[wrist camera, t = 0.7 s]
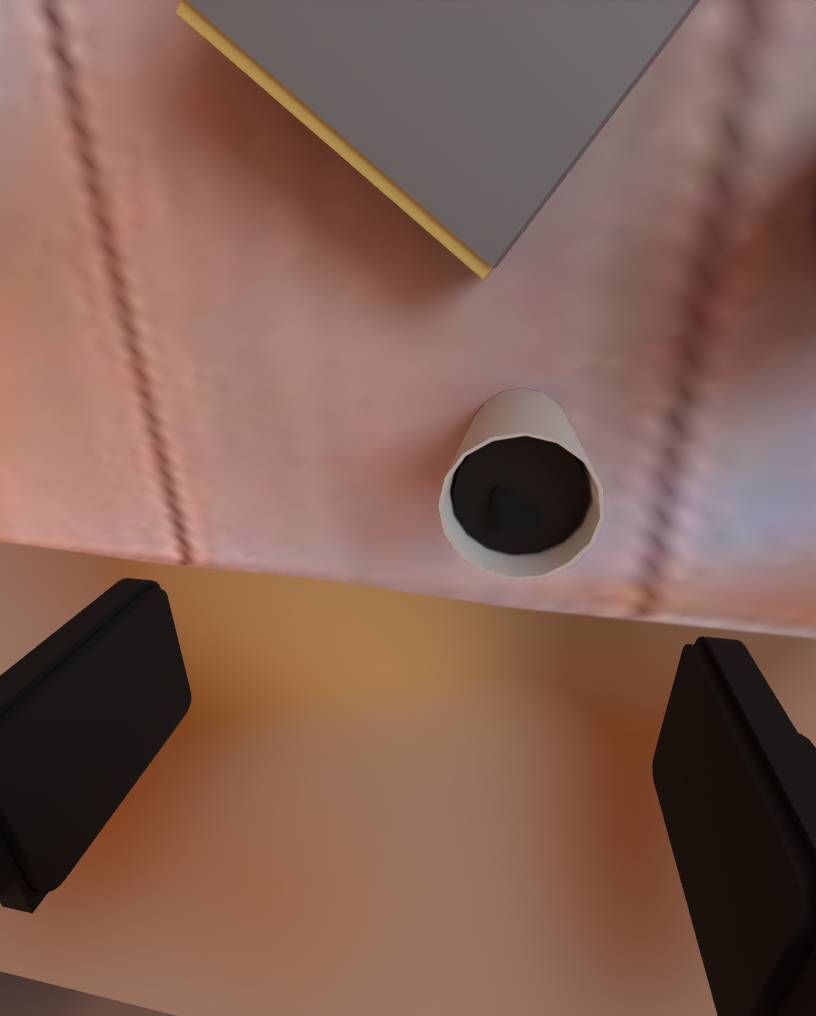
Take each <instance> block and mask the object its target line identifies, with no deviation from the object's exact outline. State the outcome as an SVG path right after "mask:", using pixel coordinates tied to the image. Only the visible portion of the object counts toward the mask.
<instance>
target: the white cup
mask: <svg viewBox="0 0 816 1016" xmlns="http://www.w3.org/2000/svg"><path fill="white" fill-rule="evenodd" d="M438 507H439V513H440V518H441V523H442V528H443V533H444V534H445V536H446V537H447V539H448V540H449V542H450V543H451V544H452V546H453V547H454V549H455V550H456V552H457V553H458V555H459V556H460V557H462V558H463V559H464V560H466V561H467V562H469V563H470V564H472V565H473V566H475V567H476V568H478V569H479V570H480V571H482V572H483V573H487V574H491V575H495V576H498V577H502V578H506V579H510V580H525V579H540V578H545V577H547V576H550V575H552V574H554V573H557V572H559V571H561V570H564V569H566V568H568V567H571V566H572V565H573V564H574V563H575V562H576V561H577V560H578V559H579V558H580V557H581V556H583V555H584V554H585V553H586V552H587V551H588V550H589V549H590V548H591V547H592V546H593V544H594V542H595V539H596V537H597V535H598V532H599V530H600V527H601V525H602V522H603V520H604V502H603V487H602V485H601V483H600V481H599V479H598V478H597V476H596V474H595V472H594V470H593V468H592V466H591V464H590V462H589V460H588V458H587V456H586V454H585V452H584V450H583V448H582V446H581V444H580V442H579V440H578V438H577V436H576V434H575V432H574V430H573V428H572V426H571V424H570V422H569V420H568V418H567V417H566V415H565V413H564V411H563V410H562V408H561V406H560V405H559V404H558V403H557V402H555V401H554V400H553V399H551V398H550V397H549V396H547V395H546V394H544V393H542V392H538V391H533V390H529V389H525V388H522V389H516V390H510V391H503V392H501V393H500V394H498V395H496V396H495V397H493V398H491V399H490V400H488V401H486V402H485V404H484V405H483V406H482V407H481V409H480V410H479V411H478V413H477V414H476V415H475V417H474V419H473V421H472V423H471V425H470V427H469V429H468V431H467V433H466V435H465V437H464V439H463V441H462V443H461V445H460V447H459V449H458V451H457V453H456V455H455V458H454V460H453V462H452V464H451V466H450V468H449V470H448V472H447V474H446V476H445V478H444V483H443V487H442V491H441V495H440V499H439V504H438Z"/></svg>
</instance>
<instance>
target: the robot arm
mask: <svg viewBox="0 0 816 1016" xmlns="http://www.w3.org/2000/svg"><path fill="white" fill-rule="evenodd" d="M190 703H191V691H190V687H189V682H188V678H187V674H186V670H185V666H184V662H183V658H182V654H181V650H180V645H179V642H178V638H177V633H176V629H175V625H174V621H173V617H172V613H171V609H170V604H169V600H168V596H167V594H166V592H165V591H164V590H162V589H161V588H160V586H159V584H158V583H157V582H155V581H152V580H142V579H132V578H125V579H122V580H120V581H118V582H117V583H116V584H114V585H113V586H112V587H111V588H109V589H108V590H107V591H106V592H104V594H102V595H101V596H99V597H98V598H97V599H96V600H94V601H93V602H92V603H91V604H89V605H88V606H87V607H86V608H84V609H83V610H82V611H81V612H79V613H78V614H77V615H76V616H75V617H73V618H72V619H71V620H69V621H68V622H67V623H66V624H64V625H63V626H62V627H61V628H59V629H58V630H57V631H56V632H55V633H53V634H52V635H51V636H49V637H48V638H47V639H46V640H44V641H43V642H42V643H41V644H39V645H38V646H37V647H36V648H35V649H33V650H32V651H31V652H29V653H28V654H27V655H26V656H24V657H23V658H22V659H21V660H19V661H18V662H17V663H16V664H14V665H13V666H12V667H11V668H9V669H8V670H7V671H6V672H4V673H3V674H2V675H1V676H0V903H1V905H2V906H3V907H7V908H11V909H16V910H21V911H25V912H29V913H33V912H34V911H35V909H36V908H37V907H38V905H39V904H40V902H41V901H42V900H43V899H44V897H45V896H46V894H47V893H48V892H50V891H53V890H55V889H56V888H57V887H58V886H60V885H61V884H62V882H63V881H64V880H65V879H66V877H67V876H68V874H69V873H70V872H71V871H72V869H73V868H74V867H75V865H76V864H77V862H78V861H79V860H80V858H81V857H82V856H83V854H84V853H85V851H86V850H87V849H88V847H89V846H90V845H91V843H92V842H93V841H94V839H95V838H96V836H97V835H98V834H99V832H100V831H101V830H102V828H103V827H104V825H105V824H106V823H107V821H108V820H109V819H110V817H111V816H112V814H113V813H114V812H115V810H116V809H117V808H118V806H119V805H120V804H121V802H122V801H123V799H124V798H125V797H126V795H127V794H128V793H129V791H130V790H131V789H132V787H133V786H134V784H135V783H136V782H137V780H138V779H139V778H140V776H141V775H142V773H143V772H144V771H145V769H146V768H147V767H148V765H149V764H150V763H151V761H152V760H153V758H154V757H155V756H156V754H157V753H158V752H159V750H160V749H161V747H162V746H163V745H164V743H165V742H166V741H167V739H168V738H169V737H170V735H171V734H172V732H173V731H174V730H175V728H176V727H177V726H178V724H179V723H180V721H181V720H182V719H183V717H184V716H185V714H186V713H187V711H188V709H189V707H190ZM652 769H653V780H654V784H655V788H656V791H657V795H658V799H659V803H660V806H661V810H662V813H663V817H664V821H665V824H666V828H667V832H668V836H669V839H670V843H671V846H672V850H673V854H674V858H675V861H676V865H677V869H678V872H679V876H680V880H681V883H682V887H683V890H684V894H685V898H686V901H687V905H688V908H689V912H690V916H691V919H692V924H693V927H694V930H695V934H696V938H697V942H698V945H699V949H700V953H701V957H702V960H703V964H704V967H705V971H706V975H707V978H708V982H709V985H710V989H711V993H712V996H713V1000H714V1004H715V1007H716V1011H717V1015H718V1016H816V748H815V746H814V745H813V744H812V743H811V741H810V740H809V739H808V738H806V737H805V736H803V735H802V734H798V732H797V731H796V729H795V727H794V726H793V724H792V722H791V721H790V719H789V718H788V716H787V714H786V712H785V711H784V709H783V707H782V706H781V704H780V703H779V701H778V700H777V698H776V696H775V694H774V693H773V691H772V689H771V688H770V686H769V685H768V683H767V681H766V680H765V678H764V676H763V675H762V673H761V671H760V670H759V668H758V667H757V665H756V663H755V662H754V660H753V658H752V657H751V655H750V653H749V652H748V650H747V649H746V647H745V646H744V644H743V643H742V642H741V641H738V640H731V639H721V638H712V637H699V638H698V639H697V640H696V642H695V644H694V645H691V644H686V645H685V646H684V648H683V650H682V654H681V658H680V661H679V665H678V669H677V672H676V676H675V680H674V683H673V687H672V691H671V695H670V698H669V702H668V706H667V709H666V713H665V717H664V721H663V724H662V728H661V732H660V735H659V739H658V743H657V747H656V750H655V754H654V757H653V766H652ZM0 1016H176V1015H171V1014H168V1013H164V1012H159V1011H156V1010H152V1009H148V1008H144V1007H140V1006H136V1005H132V1004H128V1003H124V1002H121V1001H117V1000H112V999H109V998H105V997H101V996H96V995H93V994H88V993H84V992H81V991H76V990H73V989H68V988H64V987H60V986H56V985H52V984H48V983H44V982H40V981H36V980H32V979H28V978H24V977H20V976H16V975H12V974H8V973H4V972H0Z"/></svg>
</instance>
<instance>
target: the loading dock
mask: <svg viewBox="0 0 816 1016" xmlns="http://www.w3.org/2000/svg"><path fill="white" fill-rule="evenodd" d="M699 1H700V0H180V2H179V5H178V8H177V11H176V13H177V14H178V15H179V16H180V17H182V18H183V19H184V20H185V21H186V22H187V23H188V24H190V25H191V26H192V27H193V28H194V29H195V30H197V31H198V32H199V33H200V34H201V35H202V36H203V37H205V38H206V39H207V40H208V41H209V42H210V43H211V44H213V45H214V46H215V47H216V48H217V49H218V50H220V51H221V52H222V53H223V54H224V55H225V56H226V57H228V58H229V59H230V60H231V61H232V62H233V63H234V64H236V65H237V66H238V67H239V68H240V69H241V70H243V71H244V72H245V73H246V74H247V75H248V76H249V77H251V78H252V79H253V80H254V81H255V82H256V83H257V84H259V85H260V86H261V87H262V88H263V89H264V90H266V91H267V92H268V93H269V94H270V95H271V96H272V97H274V98H275V99H276V100H277V101H278V102H279V103H281V104H282V105H283V106H284V107H285V108H286V109H287V110H289V111H290V112H291V113H292V114H293V115H294V116H295V117H297V118H298V119H299V120H300V121H301V122H302V123H304V124H305V125H306V126H307V127H308V128H309V129H310V130H312V131H313V132H314V133H315V134H316V135H317V136H318V137H320V138H321V139H322V140H323V141H324V142H325V143H327V144H328V145H329V146H330V147H331V148H332V149H333V150H335V151H336V152H337V153H338V154H339V155H340V156H342V157H343V158H344V159H345V160H346V161H347V162H348V163H350V164H351V165H352V166H353V167H354V168H355V169H356V170H358V171H359V172H360V173H361V174H362V175H363V176H365V177H366V178H367V179H368V180H369V181H370V182H371V183H373V184H374V185H375V186H376V187H377V188H378V189H379V190H381V191H382V192H383V193H384V194H385V195H386V196H388V197H389V198H390V199H391V200H392V201H393V202H394V203H396V204H397V205H398V206H399V207H400V208H401V209H402V210H404V211H405V212H406V213H407V214H408V215H409V216H411V217H412V218H413V219H414V220H415V221H416V222H417V223H419V224H420V225H421V226H422V227H423V228H424V229H426V230H427V231H428V232H429V233H430V234H431V235H432V236H434V237H435V238H436V239H437V240H438V241H439V242H440V243H442V244H443V245H444V246H445V247H446V248H447V249H449V250H450V251H451V252H452V253H453V254H454V255H455V256H457V257H458V258H459V259H460V260H461V261H462V262H463V263H465V264H466V265H467V266H468V267H469V268H470V269H472V270H473V271H474V272H475V273H476V274H477V275H478V276H480V277H481V278H482V279H485V278H486V276H487V275H488V274H489V272H490V271H491V270H492V268H493V267H497V266H498V264H499V263H500V262H501V260H502V259H503V258H504V256H505V255H506V254H507V252H508V251H509V250H510V249H511V247H512V246H513V245H514V243H515V242H516V241H517V239H518V238H519V237H520V235H521V234H522V233H523V231H524V230H525V229H526V228H527V226H528V225H529V224H530V222H531V221H532V220H533V218H534V217H535V216H536V214H537V213H538V212H539V211H540V209H541V208H542V207H543V205H544V204H545V203H546V201H547V200H548V199H549V197H550V196H551V195H552V193H553V192H554V191H555V190H556V188H557V187H558V186H559V184H560V183H561V182H562V180H563V179H564V178H565V176H566V175H567V174H568V172H569V171H570V170H571V169H572V167H573V166H574V165H575V163H576V162H577V161H578V159H579V158H580V157H581V155H582V154H583V153H584V151H585V150H586V149H587V148H588V146H589V145H590V144H591V142H592V141H593V140H594V138H595V137H596V136H597V134H598V133H599V132H600V130H601V129H602V128H603V127H604V125H605V124H606V123H607V121H608V120H609V119H610V117H611V116H612V115H613V113H614V112H615V111H616V109H617V108H618V107H619V106H620V104H621V103H622V102H623V100H624V99H625V98H626V96H627V95H628V94H629V92H630V91H631V90H632V89H633V87H634V86H635V85H636V83H637V82H638V81H639V79H640V78H641V77H642V75H643V74H644V73H645V71H646V70H647V69H648V68H649V66H650V65H651V64H652V62H653V61H654V60H655V58H656V57H657V56H658V54H659V53H660V52H661V50H662V49H663V48H664V47H665V45H666V44H667V43H668V41H669V40H670V39H671V37H672V36H673V35H674V33H675V32H676V31H677V29H678V28H679V27H680V26H681V24H682V23H683V22H684V20H685V19H686V18H687V16H688V15H689V14H690V12H691V11H692V10H693V8H694V7H695V6H696V5H697V3H698V2H699Z"/></svg>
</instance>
